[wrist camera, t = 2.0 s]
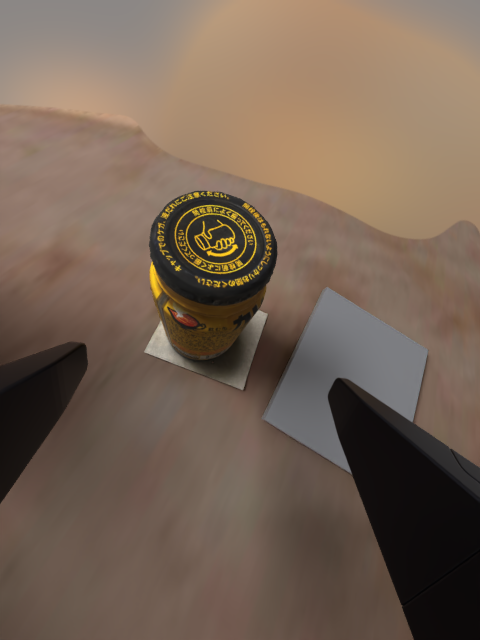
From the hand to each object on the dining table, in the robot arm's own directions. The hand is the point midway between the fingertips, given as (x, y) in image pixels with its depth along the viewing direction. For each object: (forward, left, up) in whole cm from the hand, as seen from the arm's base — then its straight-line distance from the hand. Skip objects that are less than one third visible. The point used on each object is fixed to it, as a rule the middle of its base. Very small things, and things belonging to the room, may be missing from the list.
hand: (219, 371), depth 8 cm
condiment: (+4, -2, -11) cm, 12 cm away
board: (-4, -13, -11) cm, 17 cm away
